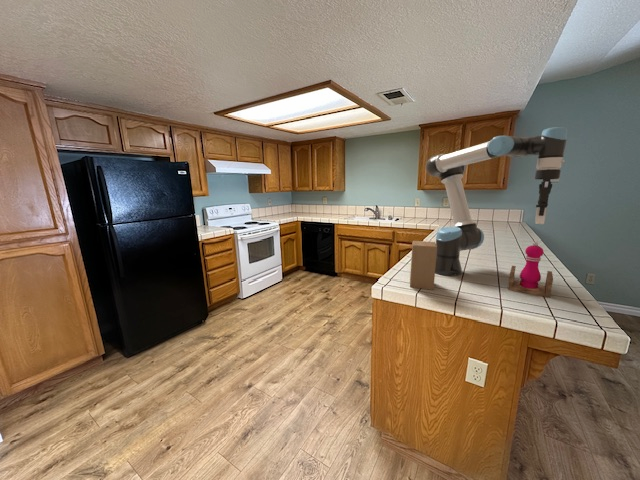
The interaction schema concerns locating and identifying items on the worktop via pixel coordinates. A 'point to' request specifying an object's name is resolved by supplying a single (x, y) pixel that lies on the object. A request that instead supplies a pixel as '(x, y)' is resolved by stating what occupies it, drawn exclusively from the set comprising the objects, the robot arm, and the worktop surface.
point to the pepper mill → (531, 267)
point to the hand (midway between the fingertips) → (539, 221)
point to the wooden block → (423, 264)
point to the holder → (539, 291)
